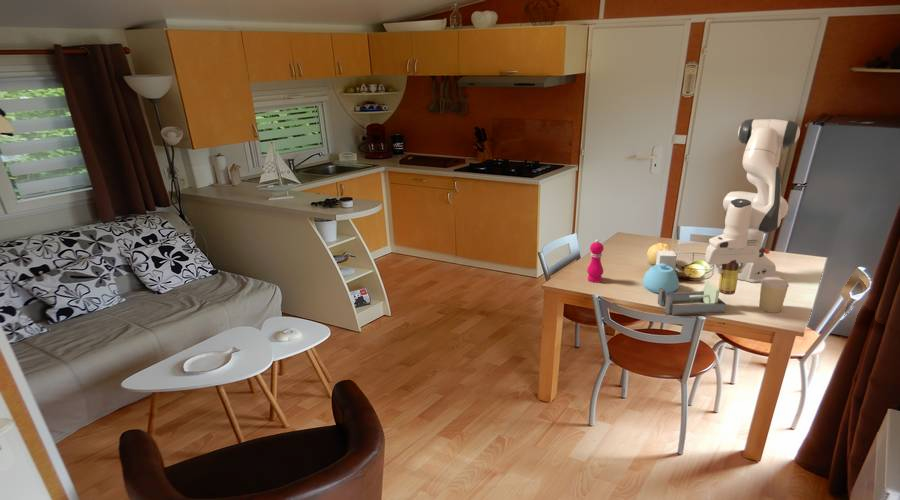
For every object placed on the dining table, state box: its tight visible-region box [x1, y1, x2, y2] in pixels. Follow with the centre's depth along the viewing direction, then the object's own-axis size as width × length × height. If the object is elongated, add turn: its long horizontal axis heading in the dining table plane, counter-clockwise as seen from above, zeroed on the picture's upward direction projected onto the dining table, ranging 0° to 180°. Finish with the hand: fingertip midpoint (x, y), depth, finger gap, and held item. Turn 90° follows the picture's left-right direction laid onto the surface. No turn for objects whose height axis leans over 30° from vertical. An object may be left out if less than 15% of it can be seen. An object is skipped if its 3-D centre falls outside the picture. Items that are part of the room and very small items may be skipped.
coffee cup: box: [758, 277, 790, 314], centre depth 207 cm, size 9×9×12 cm
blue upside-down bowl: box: [642, 263, 680, 294], centre depth 229 cm, size 15×15×12 cm
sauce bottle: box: [718, 260, 739, 295], centre depth 207 cm, size 6×6×20 cm
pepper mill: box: [586, 239, 605, 283], centre depth 239 cm, size 7×7×20 cm
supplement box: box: [656, 250, 677, 272], centre depth 239 cm, size 7×7×13 cm
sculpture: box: [646, 242, 673, 266], centre depth 256 cm, size 11×12×11 cm
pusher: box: [689, 280, 720, 304], centre depth 211 cm, size 9×9×9 cm
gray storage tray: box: [657, 288, 727, 316], centre depth 211 cm, size 22×12×7 cm, turn 91°
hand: (729, 273), depth 207 cm, fingers closed on sauce bottle, 6 cm apart
